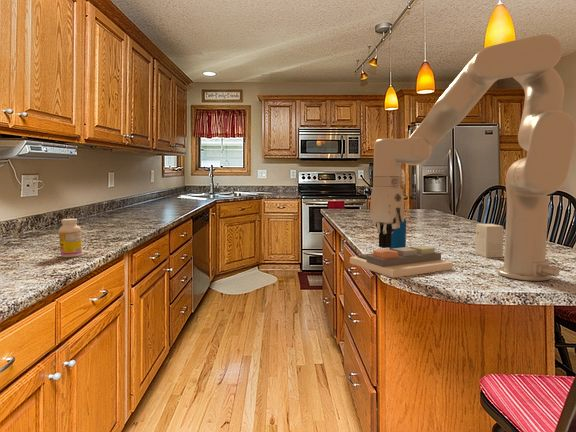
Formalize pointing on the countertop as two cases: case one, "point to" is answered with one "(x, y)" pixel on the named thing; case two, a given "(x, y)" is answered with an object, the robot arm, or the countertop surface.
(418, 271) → the keypad
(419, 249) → the key sage
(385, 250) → the key terracotta
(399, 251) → the key slate
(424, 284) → the countertop surface
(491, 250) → the small box
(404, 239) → the beverage can
